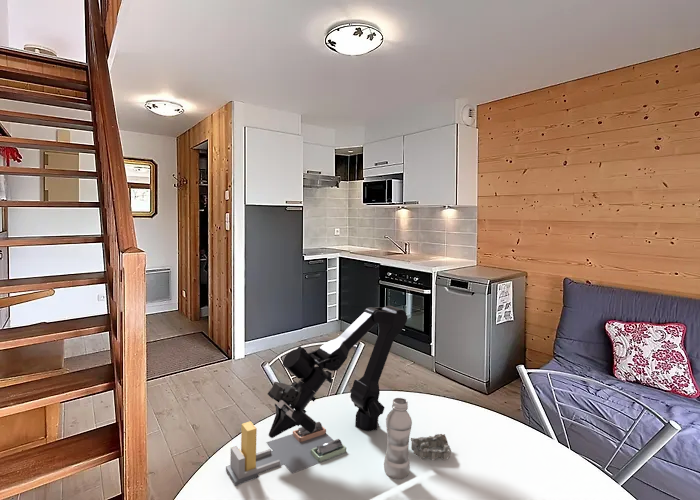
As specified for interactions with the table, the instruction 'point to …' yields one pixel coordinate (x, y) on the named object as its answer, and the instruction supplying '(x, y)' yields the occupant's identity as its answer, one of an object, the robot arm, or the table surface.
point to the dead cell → (304, 432)
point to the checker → (282, 455)
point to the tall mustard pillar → (249, 444)
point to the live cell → (329, 447)
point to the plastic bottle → (398, 440)
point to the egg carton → (432, 442)
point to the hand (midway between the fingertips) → (270, 436)
